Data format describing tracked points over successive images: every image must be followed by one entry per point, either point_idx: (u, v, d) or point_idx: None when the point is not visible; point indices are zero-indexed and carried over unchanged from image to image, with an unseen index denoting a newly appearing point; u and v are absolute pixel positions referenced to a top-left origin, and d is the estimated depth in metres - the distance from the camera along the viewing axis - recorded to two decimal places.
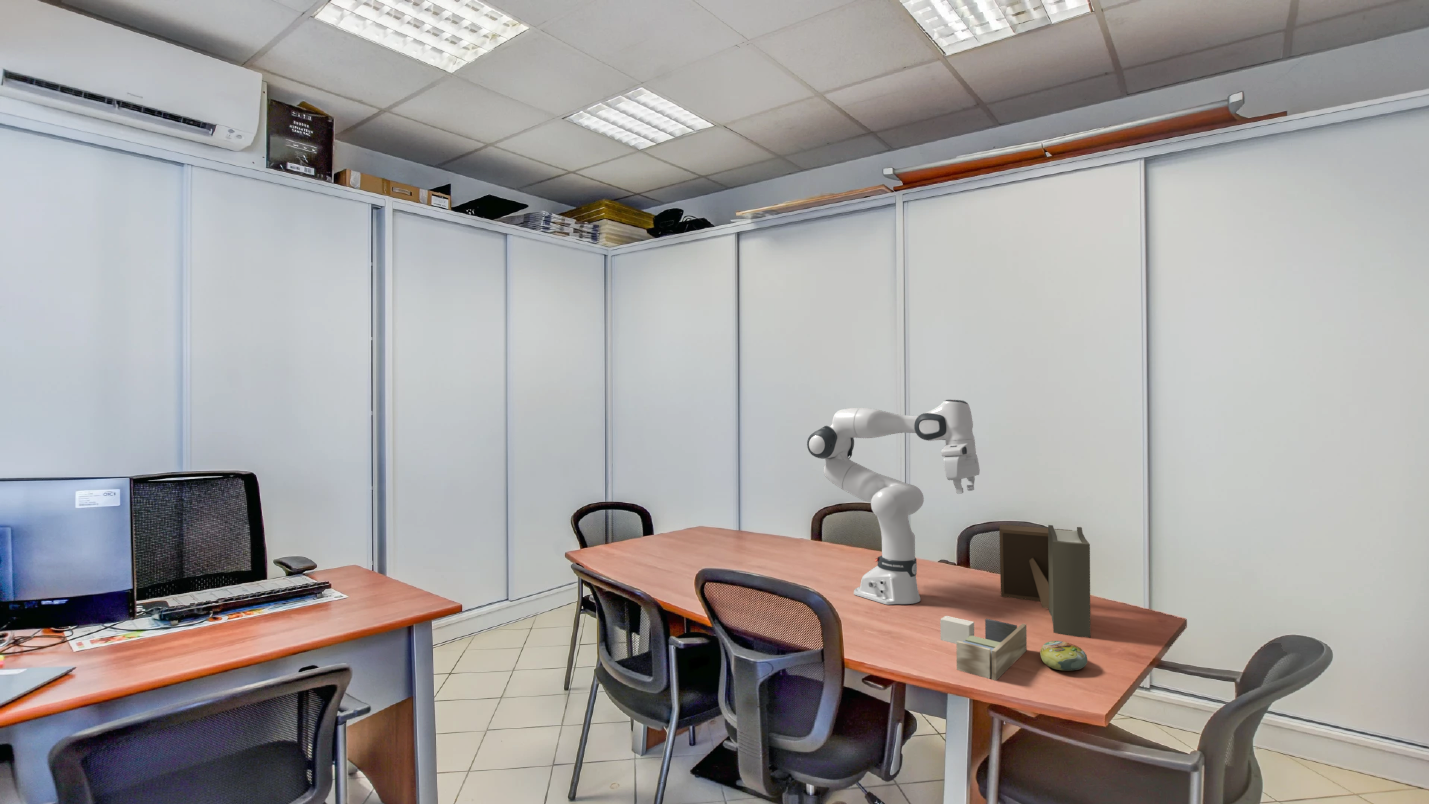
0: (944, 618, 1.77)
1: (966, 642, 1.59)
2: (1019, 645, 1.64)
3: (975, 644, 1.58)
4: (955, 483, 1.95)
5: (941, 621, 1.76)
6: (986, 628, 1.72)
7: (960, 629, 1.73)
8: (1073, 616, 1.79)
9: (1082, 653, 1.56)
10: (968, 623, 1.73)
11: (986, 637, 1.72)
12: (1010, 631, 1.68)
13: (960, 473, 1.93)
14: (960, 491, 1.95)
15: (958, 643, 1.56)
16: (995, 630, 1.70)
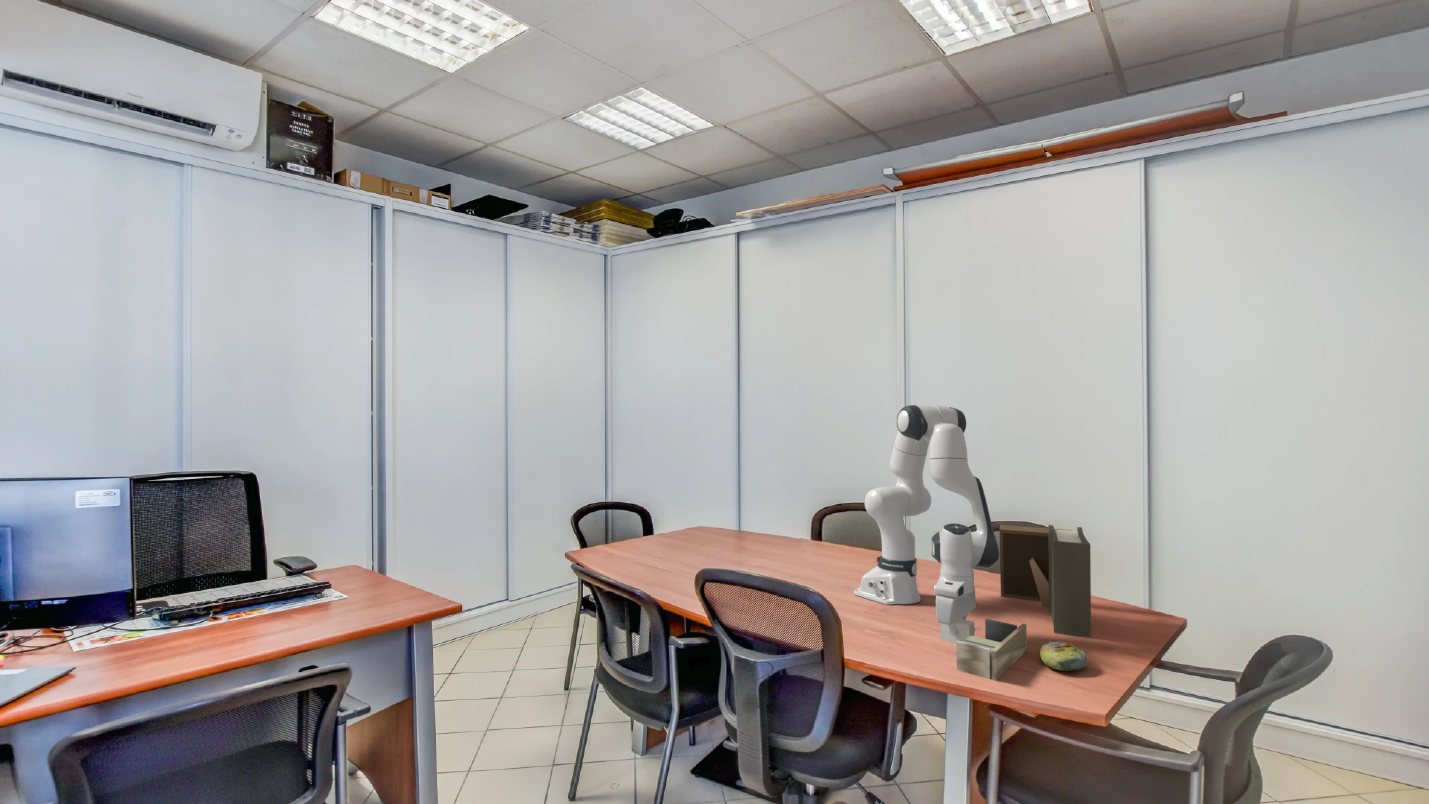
0: None
1: (966, 642, 1.59)
2: (1019, 645, 1.64)
3: (975, 644, 1.58)
4: None
5: None
6: (986, 628, 1.72)
7: (960, 629, 1.73)
8: (1074, 616, 1.79)
9: (1082, 653, 1.56)
10: (968, 622, 1.73)
11: (986, 637, 1.72)
12: (1010, 631, 1.68)
13: (953, 617, 1.69)
14: (954, 633, 1.72)
15: (958, 643, 1.56)
16: (995, 630, 1.70)
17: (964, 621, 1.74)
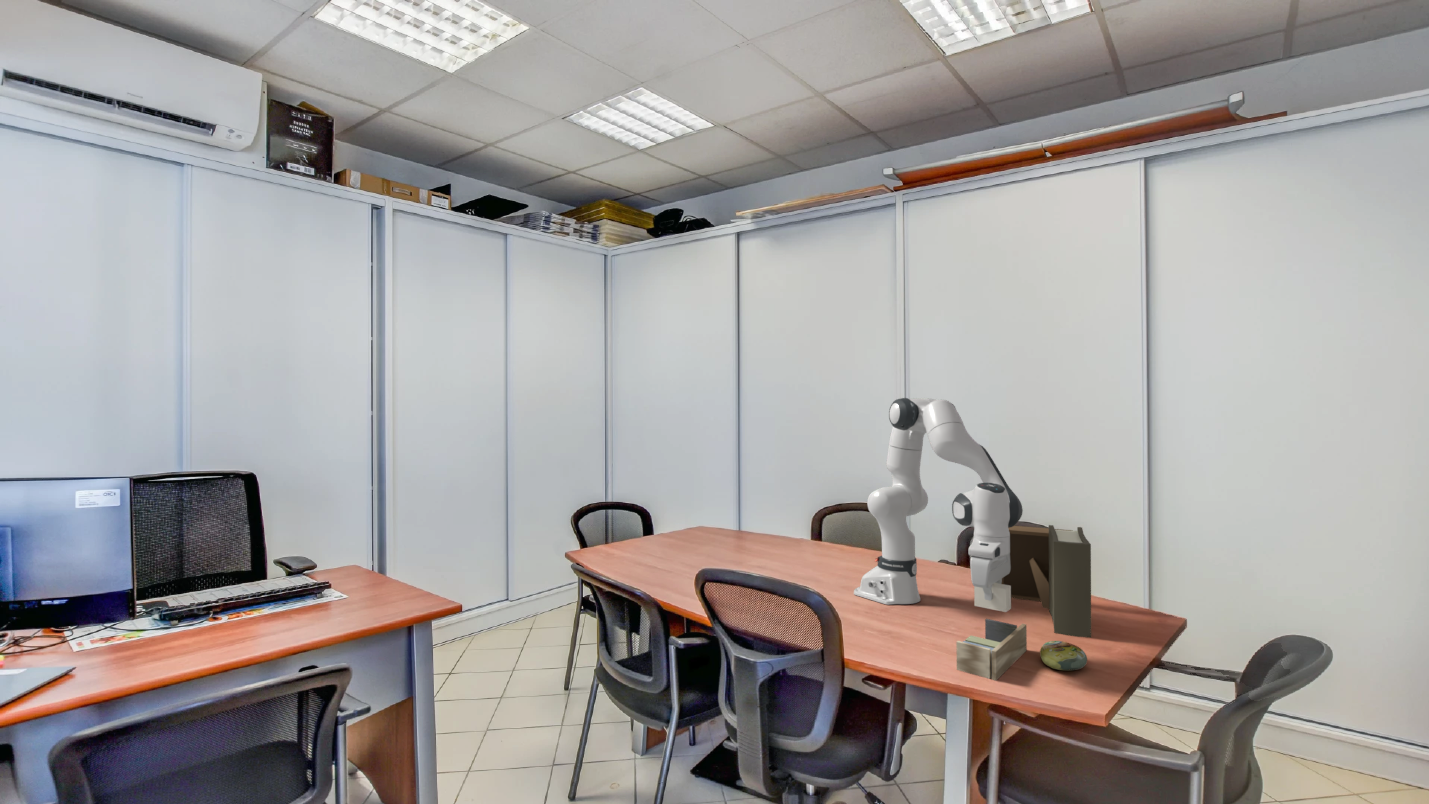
0: None
1: (966, 642, 1.59)
2: (1019, 645, 1.64)
3: (975, 644, 1.58)
4: (984, 588, 1.62)
5: None
6: (986, 628, 1.72)
7: (996, 593, 1.62)
8: (1074, 616, 1.79)
9: (1082, 653, 1.56)
10: (1005, 586, 1.62)
11: (986, 637, 1.72)
12: (1010, 631, 1.68)
13: (989, 579, 1.58)
14: (989, 597, 1.62)
15: (958, 643, 1.56)
16: (995, 630, 1.70)
17: (1000, 585, 1.63)
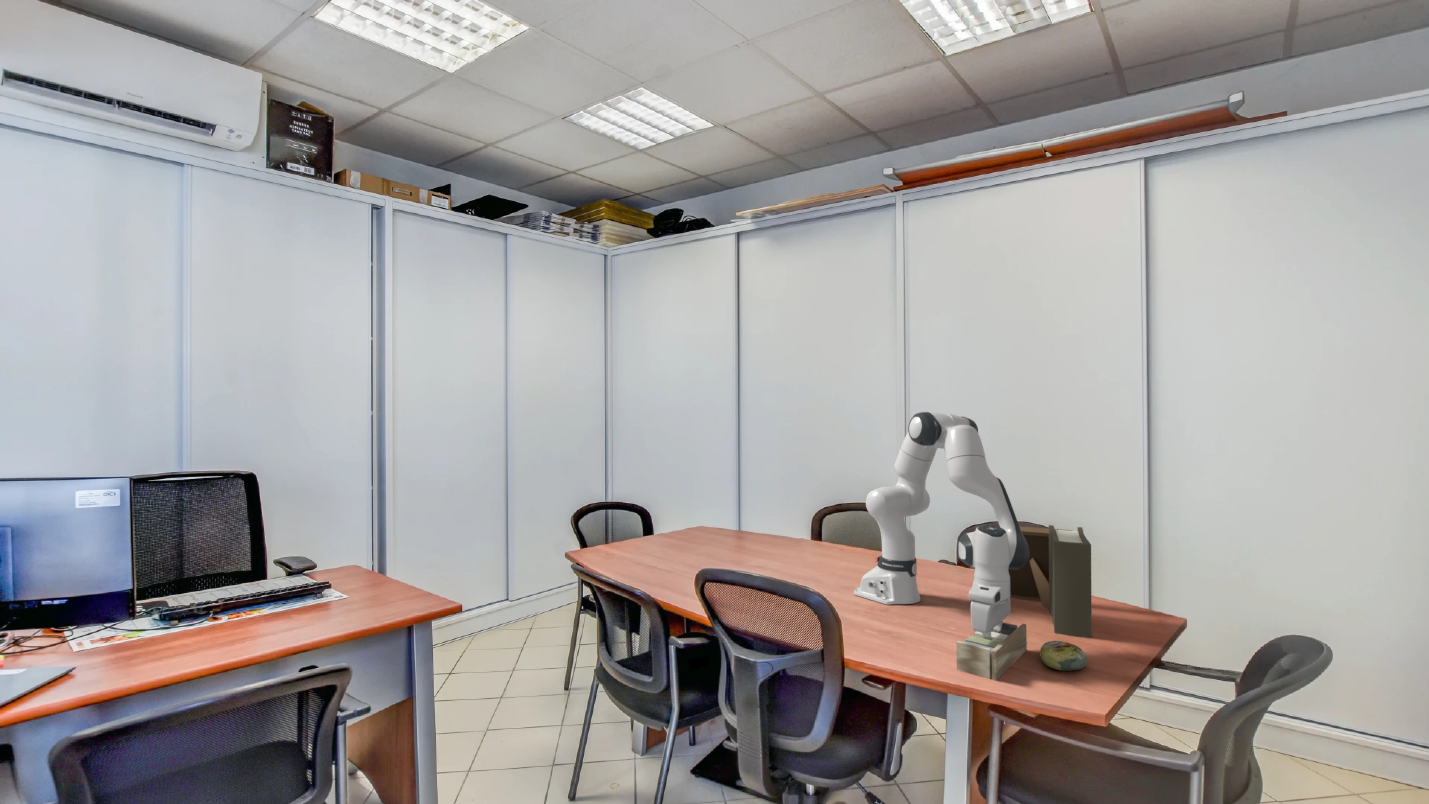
0: None
1: (966, 642, 1.59)
2: (1019, 645, 1.64)
3: (975, 644, 1.58)
4: None
5: (975, 635, 1.66)
6: None
7: None
8: (1074, 616, 1.78)
9: (1082, 653, 1.56)
10: (1005, 637, 1.62)
11: None
12: (1010, 631, 1.68)
13: (989, 624, 1.58)
14: None
15: (958, 643, 1.56)
16: None
17: (1000, 635, 1.63)
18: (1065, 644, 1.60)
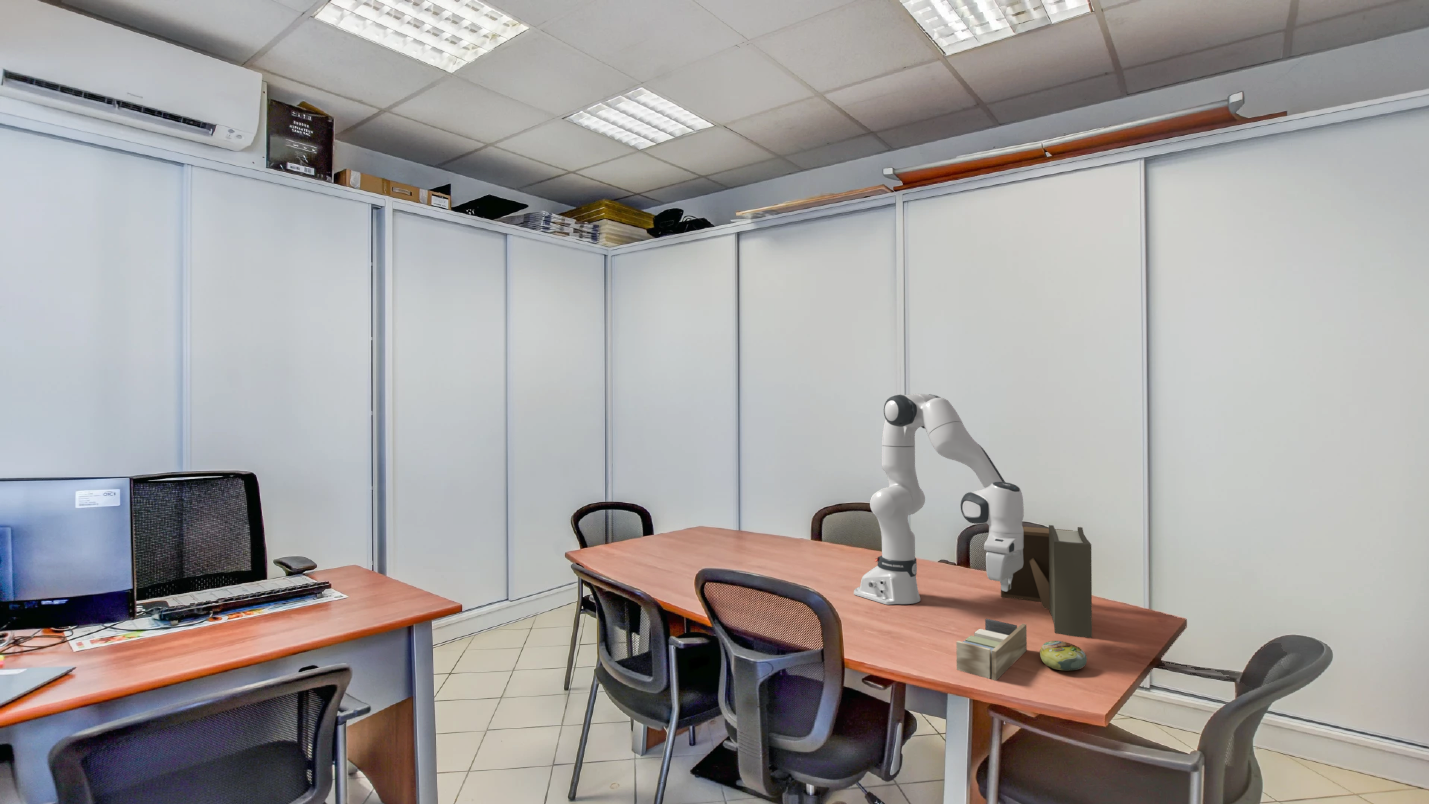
0: (978, 631, 1.66)
1: (966, 642, 1.59)
2: (1019, 645, 1.64)
3: (975, 644, 1.58)
4: (1001, 579, 1.73)
5: (975, 635, 1.66)
6: (986, 628, 1.72)
7: None
8: (1074, 616, 1.78)
9: (1082, 653, 1.56)
10: (1005, 637, 1.62)
11: None
12: (1010, 631, 1.68)
13: (1004, 573, 1.68)
14: (1006, 589, 1.73)
15: (958, 643, 1.56)
16: (995, 630, 1.70)
17: (1000, 635, 1.63)
18: (1065, 644, 1.60)
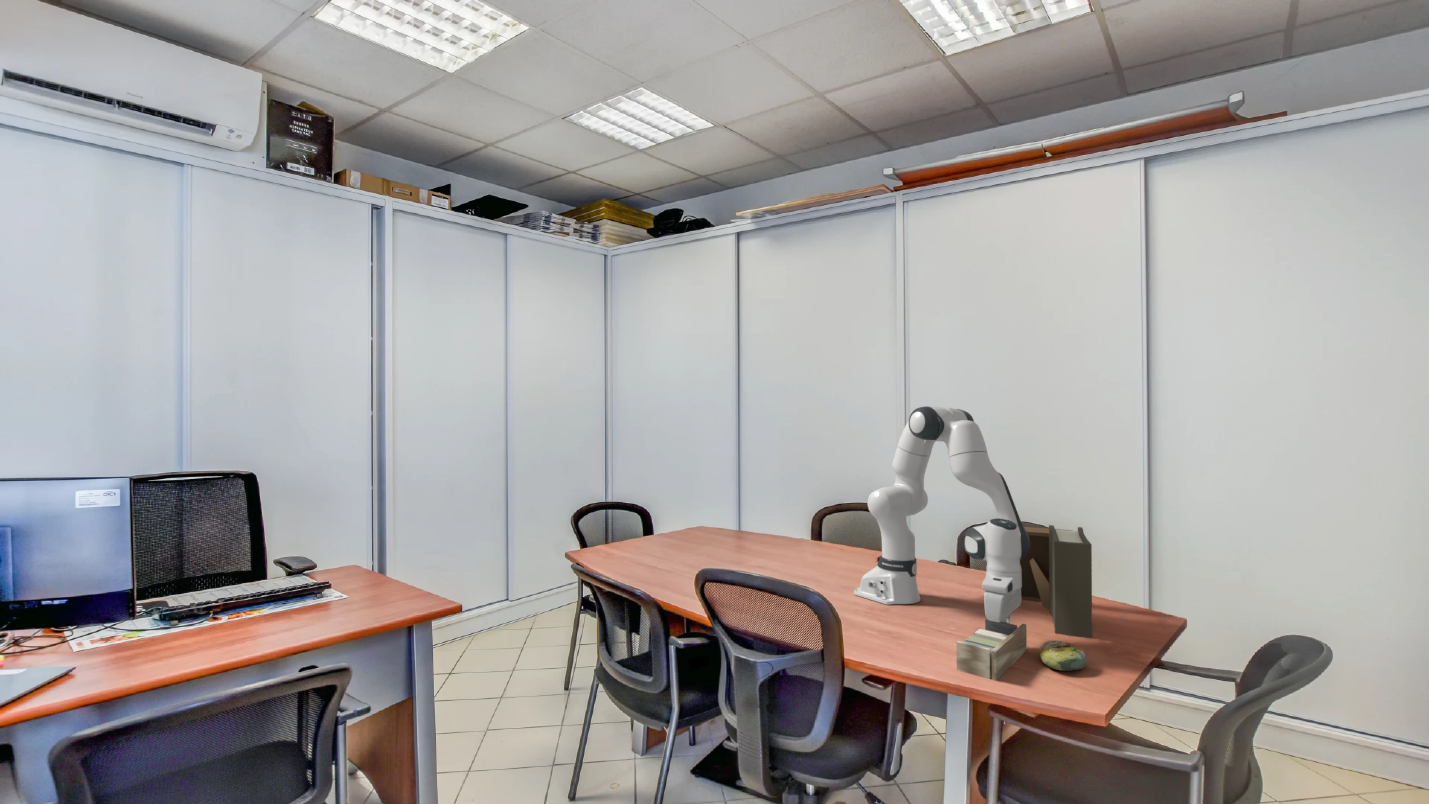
0: (978, 631, 1.66)
1: (966, 642, 1.59)
2: (1019, 645, 1.64)
3: (975, 644, 1.58)
4: None
5: (975, 635, 1.66)
6: (986, 628, 1.72)
7: None
8: (1075, 616, 1.78)
9: (1082, 653, 1.56)
10: (1005, 637, 1.62)
11: None
12: (1010, 631, 1.68)
13: (1002, 613, 1.65)
14: None
15: (958, 643, 1.56)
16: (995, 630, 1.70)
17: (1000, 635, 1.63)
18: (1065, 644, 1.60)
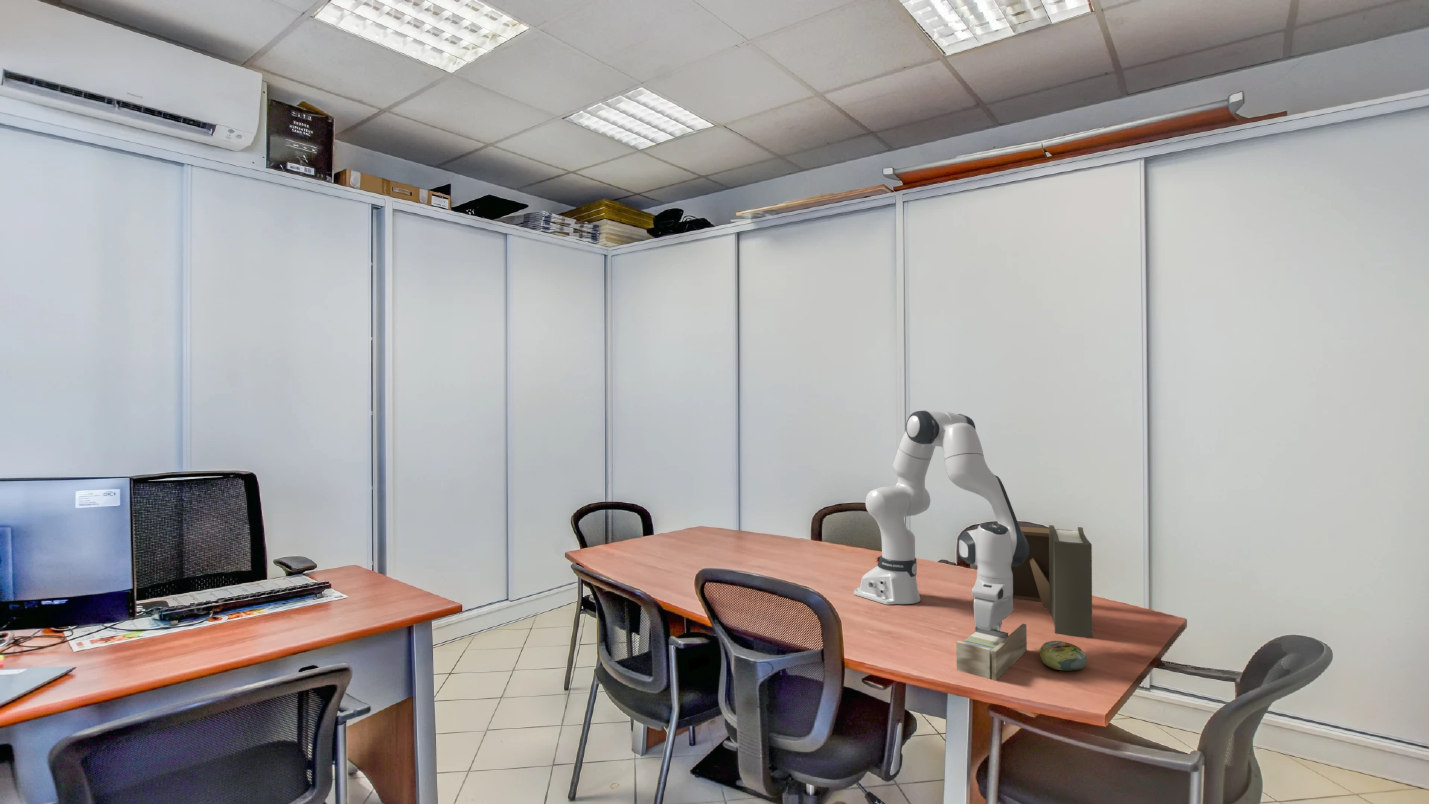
0: (974, 635, 1.64)
1: (966, 642, 1.59)
2: (1019, 645, 1.64)
3: (975, 644, 1.58)
4: None
5: None
6: None
7: None
8: (1075, 616, 1.78)
9: (1081, 653, 1.56)
10: (1001, 640, 1.60)
11: None
12: None
13: (993, 621, 1.59)
14: None
15: (958, 643, 1.56)
16: None
17: (996, 639, 1.61)
18: (1065, 644, 1.60)
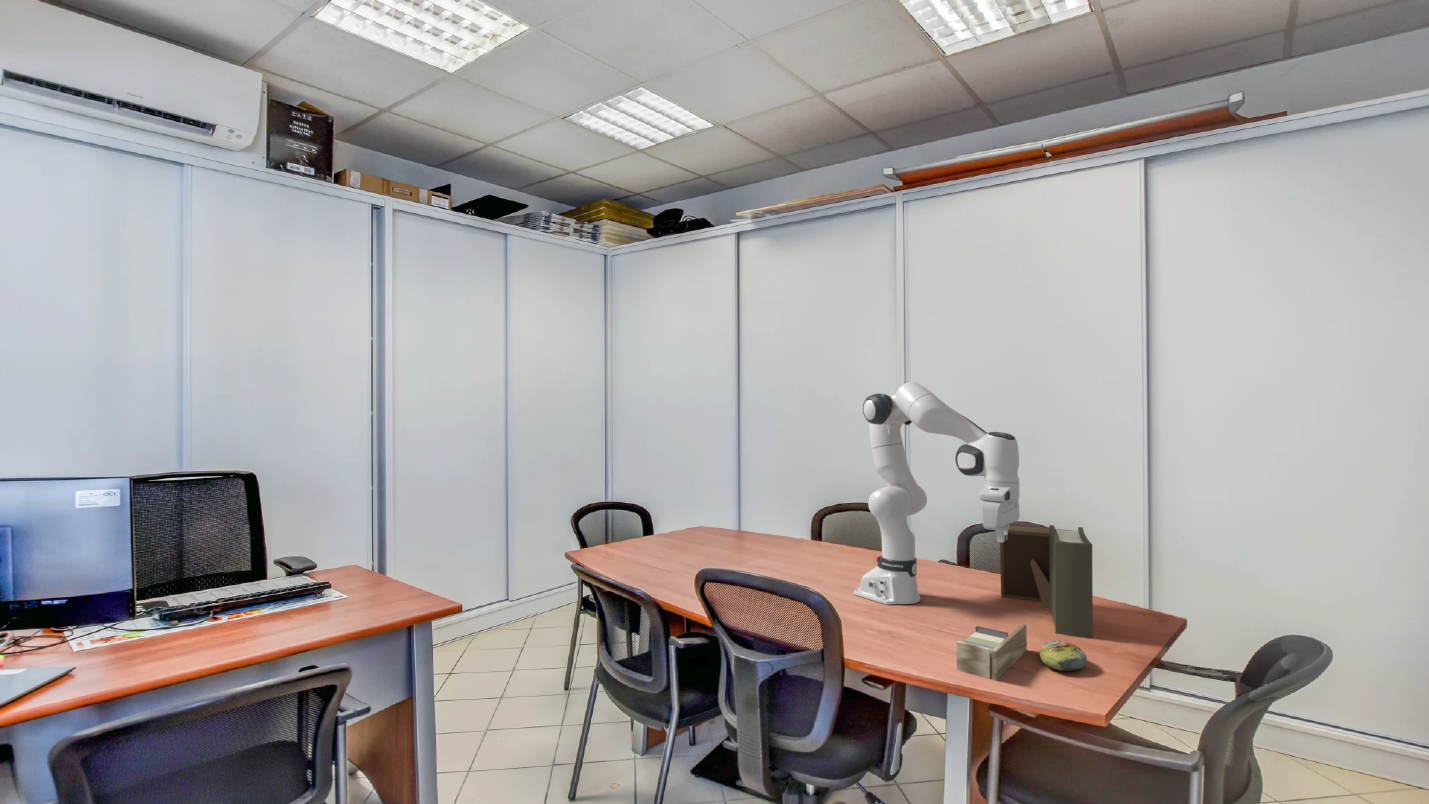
0: (974, 635, 1.64)
1: (966, 642, 1.59)
2: (1019, 645, 1.64)
3: (975, 644, 1.58)
4: (997, 530, 1.70)
5: None
6: None
7: None
8: (1075, 616, 1.78)
9: (1081, 653, 1.56)
10: (1001, 640, 1.60)
11: None
12: None
13: (1000, 522, 1.64)
14: (1002, 539, 1.70)
15: (958, 643, 1.56)
16: None
17: (996, 639, 1.61)
18: (1065, 644, 1.60)
